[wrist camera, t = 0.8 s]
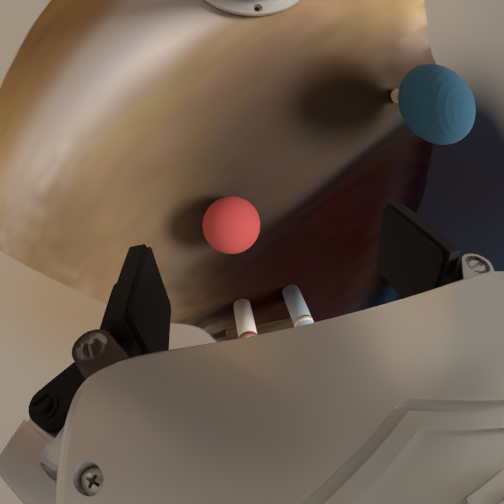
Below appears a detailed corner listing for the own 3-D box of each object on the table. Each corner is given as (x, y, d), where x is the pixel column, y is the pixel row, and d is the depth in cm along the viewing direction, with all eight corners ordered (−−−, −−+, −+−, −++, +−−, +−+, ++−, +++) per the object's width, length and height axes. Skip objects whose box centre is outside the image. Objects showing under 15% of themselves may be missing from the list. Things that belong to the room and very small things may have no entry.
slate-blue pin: (281, 285, 40) (298, 330, 33) (298, 282, 40) (318, 326, 33) (282, 299, 41) (298, 343, 34) (298, 296, 42) (317, 339, 34)
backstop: (225, 329, 43) (226, 342, 41) (297, 316, 44) (301, 328, 42) (226, 334, 43) (227, 347, 41) (296, 322, 44) (301, 333, 42)
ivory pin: (231, 300, 40) (239, 347, 33) (249, 297, 40) (260, 343, 33) (234, 312, 41) (242, 359, 34) (251, 309, 41) (261, 356, 34)
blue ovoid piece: (391, 141, 31) (458, 172, 21) (352, 89, 27) (421, 99, 17) (429, 102, 29) (498, 122, 19) (395, 50, 25) (468, 50, 15)
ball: (198, 192, 31) (197, 215, 26) (252, 184, 32) (263, 205, 27) (206, 240, 35) (208, 269, 30) (256, 232, 35) (266, 259, 30)
